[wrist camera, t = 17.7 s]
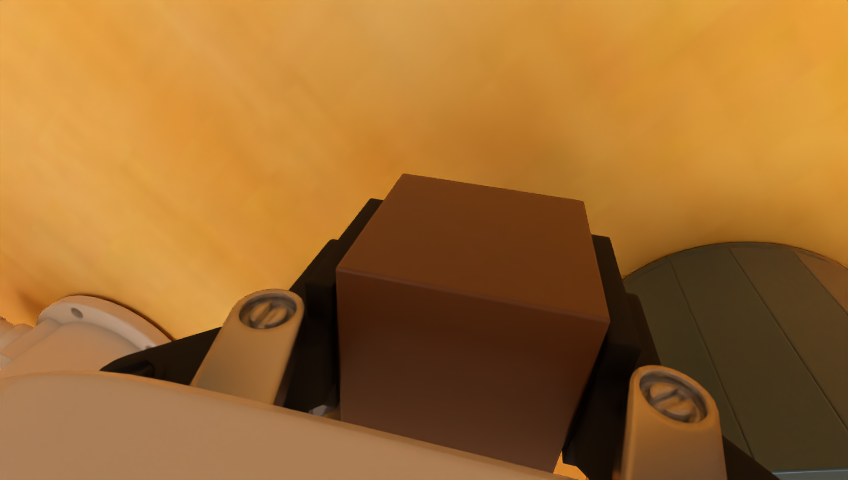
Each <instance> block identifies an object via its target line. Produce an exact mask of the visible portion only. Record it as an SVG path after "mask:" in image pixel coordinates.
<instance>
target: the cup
mask: <svg viewBox="0 0 848 480" xmlns="http://www.w3.org/2000/svg"><path fill="white" fill-rule="evenodd" d="M622 282H623V285H624V289H625V292H627V293H633V294H636V295H638V297H639V299H640V302H641V305H642V308H643V311H644V314H645V317H646V320H647V323H648V326H649V329H650V332H651V335H652V338H653V341H654V344H655V347H656V350H657V353H658V356H659V359H660V362H661V365H662V366H663V367H667V368H671V369H674V370H676V371H679V372H681V373H683V374H685V375H687V376H688V377H690V378H692V379H693V380H695V381H696V382H698V383H699V384H700V385H701V386H702V387H703V388H704V389H705V390H706V391H707V392H708V393H709V394H710V396H711V397H712V399H713V400H714V401H715V404H716V406H717V409H718V412H719V420H720V428H721V434H722V435H723V436H724V437H725V438H727V439H728V440H729V441H731V442H732V443H733V444H735V445H736V446H737V447H739V448H740V449H741V450H742V451H744V452H745V453H746V454H748V455H749V456H750V457H752V458H753V459H754V460H755V461H757V462H758V463H759V464H761V465H762V466H763V467H765V468H766V469H767V470H769V471H770V472H771V473H772V474H774V475H775V476H776V477H778V478H779V479H780V480H848V269H847V268H845V267H844V266H842V265H841V264H839V263H837V262H835V261H833V260H831V259H828V258H826V257H824V256H822V255H820V254H817V253H813V252H810V251H807V250H803V249H800V248H796V247H791V246H785V245H780V244H773V243H760V242H730V243H722V244H713V245H706V246H702V247H697V248H692V249H688V250H685V251H681V252H678V253H675V254H672V255H669V256H666V257H664V258H662V259H659V260H657V261H655V262H652V263H650V264H648V265H646V266H645V267H643V268H641V269H639V270H637V271H636V272H634V273H632V274H631V275H630V276H628V277H627V278H625V279H624V280H623V281H622Z"/></svg>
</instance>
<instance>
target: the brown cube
mask: <svg viewBox="0 0 848 480" xmlns="http://www.w3.org/2000/svg"><path fill="white" fill-rule="evenodd" d="M336 291H337V320H338V349H339V377H340V406H341V421H342V422H346V423H350V424H354V425H358V426H362V427H367V428H371V429H375V430H379V431H383V432H387V433H391V434H395V435H399V436H403V437H408V438H412V439H416V440H420V441H424V442H428V443H432V444H436V445H440V446H444V447H448V448H452V449H457V450H461V451H465V452H469V453H473V454H477V455H481V456H485V457H489V458H493V459H497V460H501V461H505V462H509V463H513V464H517V465H521V466H525V467H529V468H533V469H537V470H541V471H545V472H549V473H553V472H554V469H555V466H556V464H557V461H558V459H559V456H560V453H561V451H562V448H563V445H564V443H565V440H566V437H567V435H568V432H569V429H570V427H571V424H572V422H573V419H574V416H575V414H576V411H577V408H578V406H579V403H580V400H581V398H582V395H583V392H584V390H585V387H586V384H587V382H588V379H589V377H590V374H591V371H592V369H593V366H594V363H595V361H596V358H597V355H598V353H599V350H600V347H601V345H602V342H603V340H604V337H605V334H606V332H607V329H608V326H609V324H610V317H609V312H608V308H607V304H606V299H605V295H604V290H603V286H602V281H601V277H600V272H599V268H598V263H597V259H596V254H595V250H594V246H593V241H592V237H591V232H590V228H589V223H588V219H587V214H586V210H585V205H584V202H583V201H580V200H574V199H567V198H561V197H554V196H548V195H541V194H535V193H528V192H522V191H515V190H509V189H502V188H496V187H489V186H483V185H476V184H470V183H463V182H457V181H450V180H444V179H437V178H431V177H424V176H418V175H411V174H402V175H401V177H400V178H399V180H398V181H397V182H396V184H395V185H394V187H393V188H392V189H391V191H390V192H389V194H388V195H387V197H386V198H385V199H384V201H383V202H382V204H381V205H380V206H379V208H378V209H377V211H376V212H375V213H374V215H373V216H372V218H371V219H370V221H369V222H368V223H367V225H366V226H365V228H364V229H363V230H362V232H361V233H360V235H359V236H358V237H357V239H356V240H355V242H354V243H353V245H352V246H351V247H350V249H349V250H348V252H347V253H346V254H345V256H344V257H343V259H342V260H341V261H340V263H339V264H338V266H337V267H336Z"/></svg>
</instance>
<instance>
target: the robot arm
mask: <svg viewBox="0 0 848 480" xmlns="http://www.w3.org/2000/svg"><path fill="white" fill-rule="evenodd" d="M383 201H384V200H379V199H373V198H371V199H369V201H368V202H367V203H366V205H365V206H364V207H363V208H362V210H361V211H360V212H359V214H358V215H357V216H356V217H355V219H354V220H353V221H352V223H351V224H350V225H349V226H348V228H347V229H346V230H345V232H344V233H343V234H342V235H341V237H340V238H339V239H338V240H335V239H332V240H330V241H329V242H328V243H327V244H326V245H325V246H324V248H323V249H322V250H321V251H320V253H319V254H318V255H317V256H316V257H315V259H314V260H313V261H312V262H311V264H310V265H309V266H308V267H307V269H306V270H305V271H304V272H303V273H302V275H301V276H300V277H299V278H298V280H297V281H296V282H295V283H294V285H293V286H292V287H291V288H290V290H289V291H288V290H283V289H266V290H261V291H257V292H254V293H252V294H249V295H247V296H245V297H244V298H242V299H241V300H239V301H238V302H237V303H236V305H235V306H234V307H233V308H232V310H231V312H230V313H229V315H228V317H227V319H226V321H225V322H224V324H223V326H222V327H219V328H215V329H212V330H209V331H205V332H202V333H199V334H195V335H192V336H189V337H185V338H182V339H179V340H175V341H171V340H170V339H169V338H167V337H166V336H165V335H164V334H163V333H162V332H161V331H160V330H158V329H157V328H156V327H155V326H153V325H152V324H150V323H149V322H148V321H146V320H145V319H144V318H142V317H140V316H139V315H137V314H135V313H133V312H132V311H130V310H128V309H126V308H124V307H122V306H119V305H117V304H115V303H113V302H110V301H107V300H103V299H100V298H96V297H89V296H82V295H77V296H67V297H64V298H61V299H59V300H57V301H56V302H54V303H53V304H51V305H50V306H48V307H47V308H45V309H44V310H43V311H42V312H41V313H40V315H39V316H38V319H37V323H36V326H35V327H34V328H33V327H31V326H29V325H27V324H20V325H17V326H15V325H13V324H11V323H9V322H8V321H6V319H5V318H3V317H1V316H0V480H577V479H573V478H569V477H565V476H561V475H557V474H553V473H549V472H545V471H541V470H537V469H533V468H529V467H525V466H521V465H517V464H513V463H509V462H505V461H501V460H497V459H493V458H489V457H485V456H481V455H477V454H473V453H469V452H465V451H461V450H457V449H452V448H448V447H444V446H440V445H436V444H432V443H428V442H424V441H420V440H416V439H412V438H408V437H403V436H399V435H395V434H391V433H387V432H383V431H379V430H375V429H371V428H367V427H362V426H358V425H354V424H350V423H346V422H342V421H337V420H333V419H329V418H325V417H321V416H317V415H313V409H314V408H317V407H319V406H321V405H324V406H328V407H332V408H336V409H337V407H338V404H339V402H340V377H339V349H338V320H337V291H336V267H337V266H338V264H339V263H340V261H341V260H342V259H343V257H344V256H345V254H346V253H347V252H348V250H349V249H350V247H351V246H352V245H353V243H354V242H355V240H356V239H357V237H358V236H359V235H360V233H361V232H362V230H363V229H364V228H365V226H366V225H367V223H368V222H369V221H370V219H371V218H372V216H373V215H374V213H375V212H376V211H377V209H378V208H379V206H380V205H381V204H382V202H383ZM591 237H592V241H593V246H594V250H595V254H596V259H597V263H598V268H599V272H600V277H601V281H602V286H603V290H604V295H605V299H606V304H607V308H608V312H609V317H610V324H609V326H608V329H607V332H606V334H605V337H604V340H603V342H602V345H601V347H600V350H599V353H598V355H597V358H596V361H595V363H594V366H593V369H592V371H591V374H590V377H589V379H588V382H587V384H586V387H585V390H584V392H583V395H582V398H581V400H580V403H579V406H578V408H577V411H576V414H575V416H574V419H573V422H572V424H571V427H570V429H569V432H568V435H567V437H566V440H565V443H564V445H563V448H562V459H563V463H565V464H569V465H573V466H577V467H578V468H579V469H580V470H581V471H582V472H583V473H584V474H585V476H586V479H585V480H780V479H779V478H778V477H776V476H775V475H774V474H772V473H771V472H770V471H769V470H767V469H766V468H765V467H763V466H762V465H761V464H759V463H758V462H757V461H755V460H754V459H753V458H752V457H750V456H749V455H748V454H746V453H745V452H744V451H742V450H741V449H740V448H739V447H737V446H736V445H735V444H733V443H732V442H731V441H729V440H728V439H727V438H725V437H724V436H723V435H722V434H721V428H720V420H719V412H718V409H717V406H716V404H715V401H714V400H713V399H712V397H711V396H710V394H709V393H708V392H707V391H706V390H705V389H704V388H703V387H702V386H701V385H700V384H699V383H698V382H696V381H695V380H693V379H692V378H690V377H688V376H687V375H685V374H683V373H681V372H679V371H676V370H674V369H671V368H667V367H663V366H662V365H661V362H660V359H659V356H658V353H657V350H656V347H655V344H654V341H653V338H652V335H651V332H650V329H649V326H648V323H647V320H646V317H645V314H644V311H643V308H642V305H641V302H640V299H639V297H638V295H636V294H633V293H627V292H625V289H624V285H623V282H622V279H621V275H620V272H619V268H618V265H617V262H616V258H615V255H614V251H613V248H612V244H611V241H610V238H609V237H604V236H598V235H592V234H591Z"/></svg>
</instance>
